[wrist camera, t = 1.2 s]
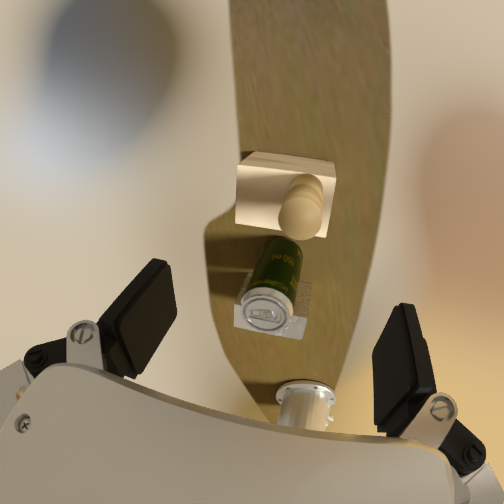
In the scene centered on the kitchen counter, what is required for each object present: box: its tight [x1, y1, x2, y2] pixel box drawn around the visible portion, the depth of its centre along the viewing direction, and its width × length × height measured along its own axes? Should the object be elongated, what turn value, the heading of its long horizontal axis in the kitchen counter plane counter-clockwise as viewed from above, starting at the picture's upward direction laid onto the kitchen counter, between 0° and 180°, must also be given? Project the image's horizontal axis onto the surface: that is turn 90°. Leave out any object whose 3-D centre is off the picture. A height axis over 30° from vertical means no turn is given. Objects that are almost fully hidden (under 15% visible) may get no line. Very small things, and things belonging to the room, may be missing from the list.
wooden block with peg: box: [235, 151, 336, 240], centre depth 26 cm, size 6×9×14 cm, turn 87°
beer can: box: [240, 237, 303, 333], centre depth 32 cm, size 5×5×12 cm
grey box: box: [234, 272, 312, 340], centre depth 37 cm, size 4×9×7 cm, turn 87°
